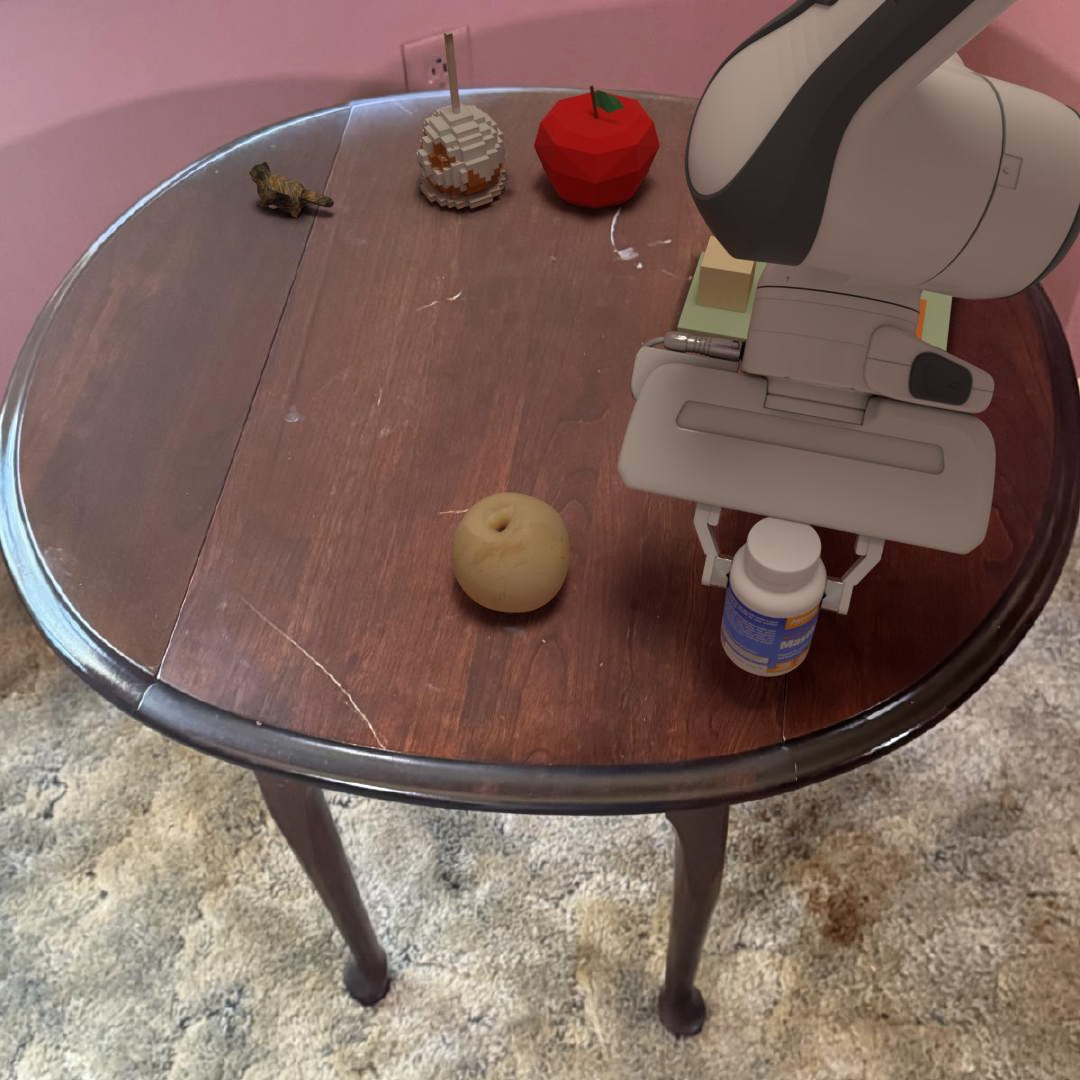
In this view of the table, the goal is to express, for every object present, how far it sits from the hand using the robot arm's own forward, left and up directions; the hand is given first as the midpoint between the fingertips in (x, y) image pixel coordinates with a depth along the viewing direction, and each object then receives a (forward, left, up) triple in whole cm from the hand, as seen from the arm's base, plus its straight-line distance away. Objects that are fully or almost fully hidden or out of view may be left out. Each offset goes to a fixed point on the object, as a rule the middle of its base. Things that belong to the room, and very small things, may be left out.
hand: (773, 598), depth 63 cm
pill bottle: (0, -1, -6) cm, 6 cm away
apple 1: (+17, -4, -10) cm, 20 cm away
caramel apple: (+35, -46, -10) cm, 58 cm away
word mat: (+1, -36, -10) cm, 37 cm away
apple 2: (+23, -49, -10) cm, 55 cm away
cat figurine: (+49, -39, -10) cm, 63 cm away
